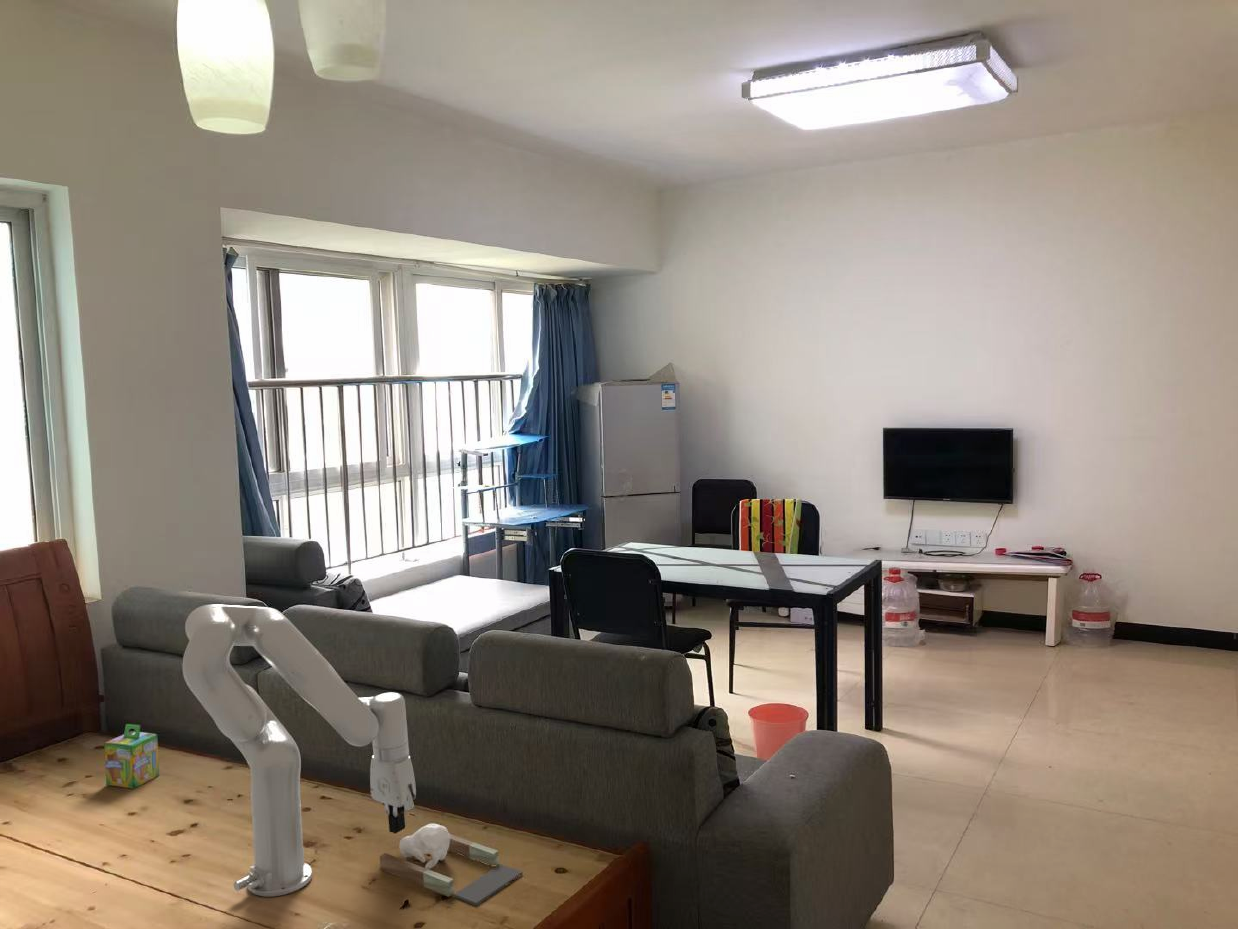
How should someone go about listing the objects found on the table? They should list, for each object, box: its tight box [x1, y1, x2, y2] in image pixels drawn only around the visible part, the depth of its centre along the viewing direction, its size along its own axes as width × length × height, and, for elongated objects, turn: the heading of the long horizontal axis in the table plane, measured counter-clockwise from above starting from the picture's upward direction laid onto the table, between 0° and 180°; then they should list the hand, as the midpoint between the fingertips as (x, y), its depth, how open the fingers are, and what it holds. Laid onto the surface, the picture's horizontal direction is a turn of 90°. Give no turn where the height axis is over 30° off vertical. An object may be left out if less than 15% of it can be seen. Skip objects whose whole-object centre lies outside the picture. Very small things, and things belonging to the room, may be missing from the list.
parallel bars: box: [379, 833, 500, 897], centre depth 202 cm, size 15×20×3 cm
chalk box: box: [104, 723, 160, 790], centre depth 249 cm, size 9×9×15 cm
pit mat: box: [453, 863, 523, 907], centre depth 194 cm, size 14×6×1 cm, turn 146°
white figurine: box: [398, 823, 451, 870], centre depth 204 cm, size 6×8×12 cm
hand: (397, 830), depth 210 cm, fingers closed
